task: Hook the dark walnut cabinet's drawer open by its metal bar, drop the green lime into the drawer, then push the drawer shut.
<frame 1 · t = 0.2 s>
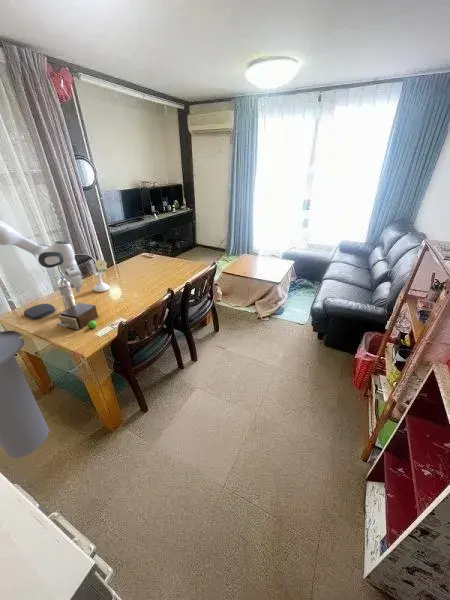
hand: (75, 289, 157), 19 cm above the table, tool pointing down, fingers open, 8 cm apart
flower in vase: (103, 290, 200), on the table
drawer: (74, 319, 154), point 4 cm above the table, slide at 0.5 cm
cabinet: (81, 321, 160), on the table
media streaming box: (40, 313, 168), on the table
water bottle: (72, 311, 171), on the table
lime: (93, 327, 154), on the table
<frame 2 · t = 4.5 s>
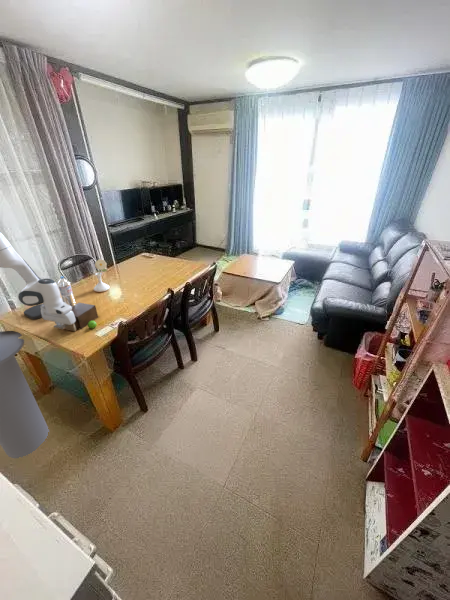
hand: (61, 327, 147), 4 cm above the table, tool pointing down, fingers closed
drawer: (71, 320, 152), point 4 cm above the table, slide at 2.6 cm, touching gripper
everything else where it was.
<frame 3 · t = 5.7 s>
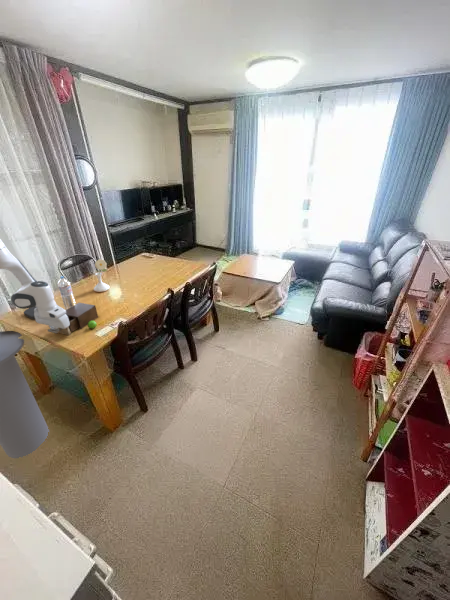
hand: (55, 331, 143), 4 cm above the table, tool pointing down, fingers closed
drawer: (65, 324, 149), point 4 cm above the table, slide at 6.7 cm, touching gripper
everything else where it was.
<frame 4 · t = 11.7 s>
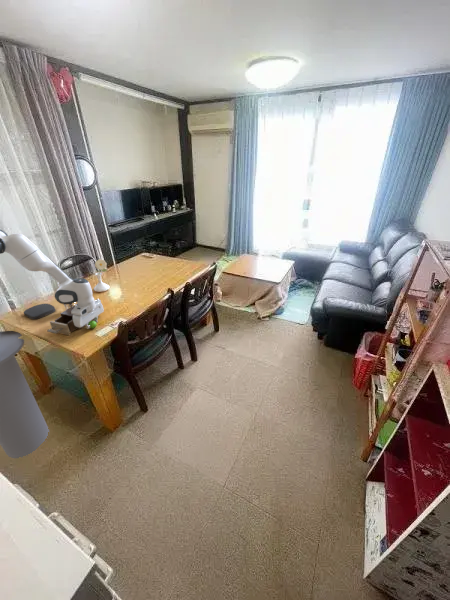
hand: (92, 325, 153), 2 cm above the table, tool pointing down, fingers closed on lime, 4 cm apart
drawer: (65, 324, 149), point 4 cm above the table, slide at 6.9 cm
lime: (93, 327, 154), on the table, touching gripper
everything else where it was.
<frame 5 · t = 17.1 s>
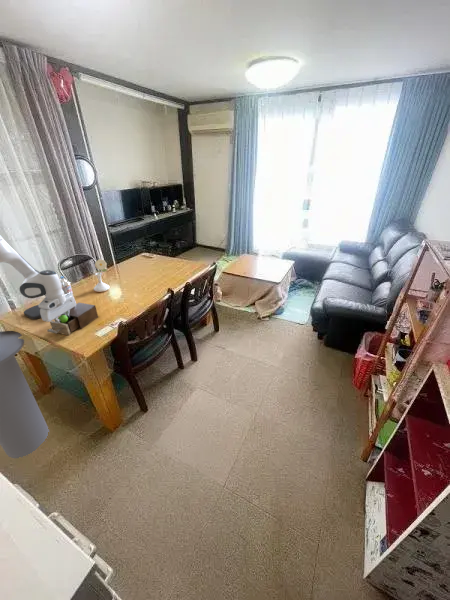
hand: (63, 320, 147), 8 cm above the table, tool pointing down, fingers closed on lime, 4 cm apart
drawer: (65, 324, 149), point 4 cm above the table, slide at 6.8 cm, touching gripper
lime: (64, 322, 148), point 6 cm above the table, touching gripper
everything else where it was.
when the fingers open (10 cm above the table, at t = 31.3 s): lime drops 2 cm and tips over, resting on drawer.
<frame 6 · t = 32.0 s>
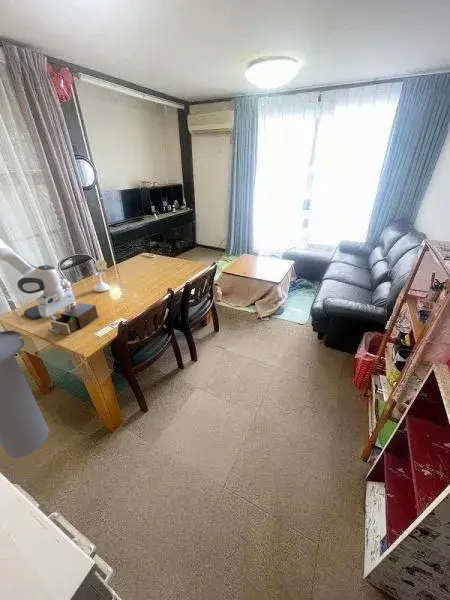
hand: (61, 315, 145), 11 cm above the table, tool pointing down, fingers open, 8 cm apart
drawer: (65, 324, 149), point 4 cm above the table, slide at 6.5 cm, touching lime
lime: (75, 315, 154), point 6 cm above the table, tilted 147°, touching drawer
everything else where it was.
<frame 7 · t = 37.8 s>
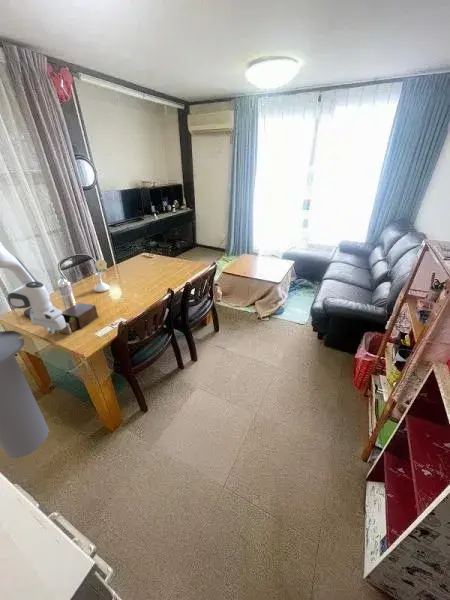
hand: (52, 332, 141), 5 cm above the table, tool pointing down, fingers closed, pressing on drawer
drawer: (66, 323, 150), point 4 cm above the table, slide at 5.9 cm, touching gripper, lime
lime: (74, 315, 154), point 7 cm above the table, tilted 160°, touching drawer
everything else where it was.
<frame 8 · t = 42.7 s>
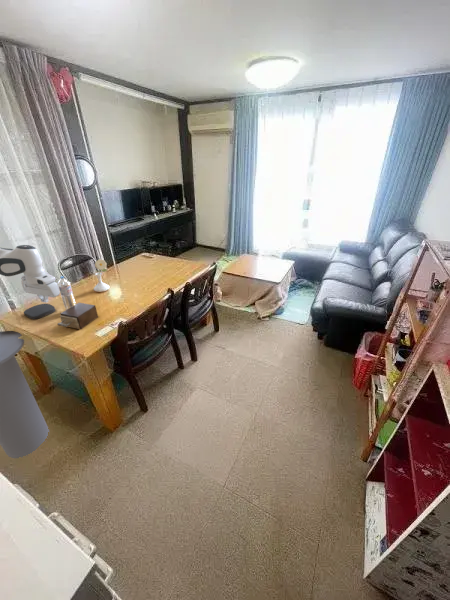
hand: (45, 301, 134), 23 cm above the table, tool pointing down, fingers closed
drawer: (74, 318, 155), point 4 cm above the table, slide at 0.0 cm, touching cabinet, lime
lime: (73, 319, 153), point 5 cm above the table, tilted 98°, touching drawer
everything else where it was.
at the end: drawer pulled out 6.9 cm at the most during the clip, back to where it started at the end; lime inside the target area in the cabinet (5.4 cm from its centre), point 4.7 cm above the cabinet's base; drawer slide at 0.0 cm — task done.
